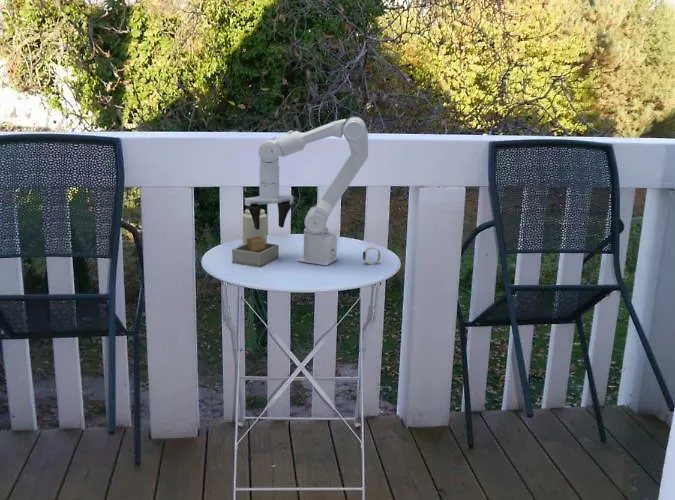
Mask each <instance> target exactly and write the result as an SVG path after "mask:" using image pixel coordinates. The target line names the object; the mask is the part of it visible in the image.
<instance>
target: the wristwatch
mask: <svg viewBox="0 0 675 500" xmlns="http://www.w3.org/2000/svg"><path fill="white" fill-rule="evenodd" d="M369 250H376V251H377V252H378V253H377V259H376V260H375V261H373V262H372V261H371V262H368V261H367V257H368V254H367V253H368V251H369ZM381 256H382V255H381V251H380V250H379V249H378V248H375V247H374V246H369V247H366V249H364V251H363V252H362V260H363V261H364V262H366V264H368V265H375V264H378V263H379V262H380V260H381Z"/></svg>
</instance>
